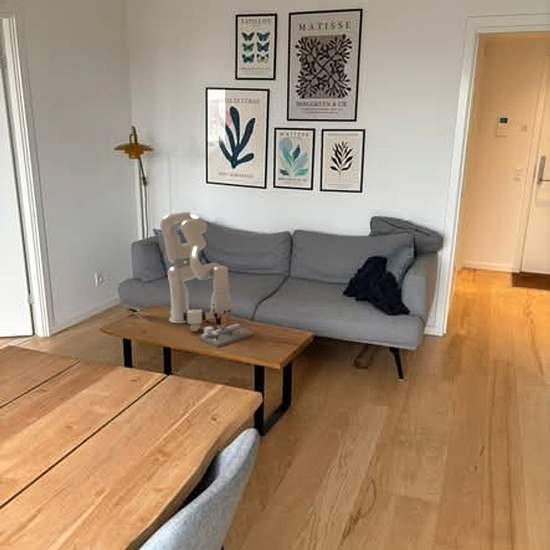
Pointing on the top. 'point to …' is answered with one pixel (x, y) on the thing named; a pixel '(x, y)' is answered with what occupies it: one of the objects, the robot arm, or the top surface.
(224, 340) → the plate
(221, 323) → the sliding leg
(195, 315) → the pneumatic valve
